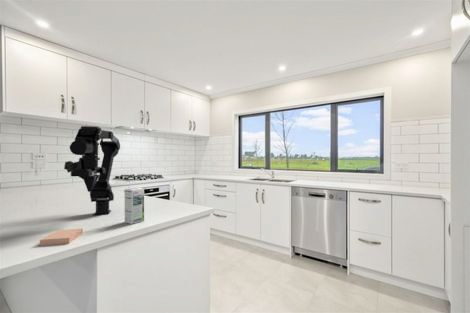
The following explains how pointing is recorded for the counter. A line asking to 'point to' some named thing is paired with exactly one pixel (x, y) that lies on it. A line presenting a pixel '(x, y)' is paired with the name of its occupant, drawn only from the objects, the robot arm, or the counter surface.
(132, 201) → the syrup box
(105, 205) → the robot arm
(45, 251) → the counter surface
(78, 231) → the tile
